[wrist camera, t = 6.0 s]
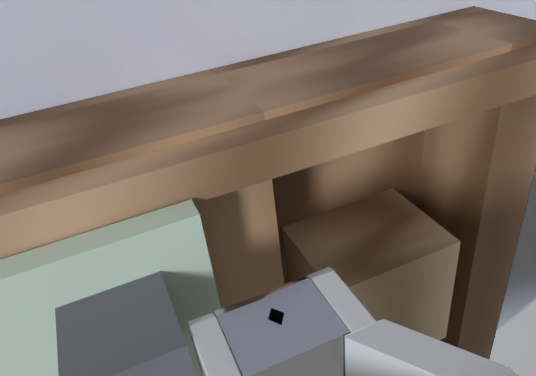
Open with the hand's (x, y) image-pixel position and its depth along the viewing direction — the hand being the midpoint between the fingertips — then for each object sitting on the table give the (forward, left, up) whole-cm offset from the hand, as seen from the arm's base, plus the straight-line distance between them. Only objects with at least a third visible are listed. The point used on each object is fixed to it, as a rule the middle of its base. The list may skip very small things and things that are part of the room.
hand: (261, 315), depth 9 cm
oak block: (-5, +5, -6) cm, 9 cm away
